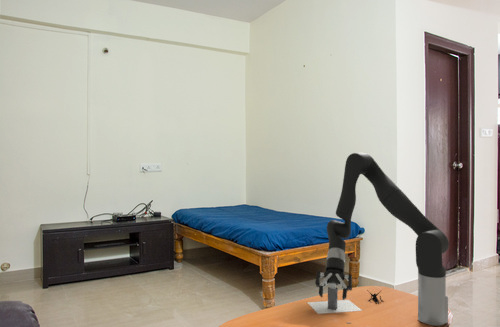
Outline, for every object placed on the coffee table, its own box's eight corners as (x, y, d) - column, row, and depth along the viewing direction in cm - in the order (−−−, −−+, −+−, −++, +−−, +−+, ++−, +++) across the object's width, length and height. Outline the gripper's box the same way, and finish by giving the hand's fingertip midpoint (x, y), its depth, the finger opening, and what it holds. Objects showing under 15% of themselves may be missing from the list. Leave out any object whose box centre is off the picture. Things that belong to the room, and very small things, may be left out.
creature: (387, 310, 154) (383, 299, 162) (388, 298, 153) (383, 287, 161) (367, 309, 155) (364, 298, 163) (368, 297, 154) (364, 287, 162)
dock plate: (348, 302, 160) (348, 299, 160) (362, 313, 148) (362, 310, 148) (307, 305, 156) (307, 302, 156) (318, 316, 144) (318, 313, 144)
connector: (328, 304, 154) (328, 281, 154) (337, 305, 153) (338, 282, 153) (327, 309, 149) (327, 285, 149) (336, 310, 148) (336, 286, 148)
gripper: (317, 255, 160) (312, 291, 149) (352, 258, 156) (350, 295, 145) (319, 264, 165) (315, 300, 154) (353, 267, 161) (351, 304, 150)
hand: (332, 297), depth 150 cm, fingers open, 8 cm apart
